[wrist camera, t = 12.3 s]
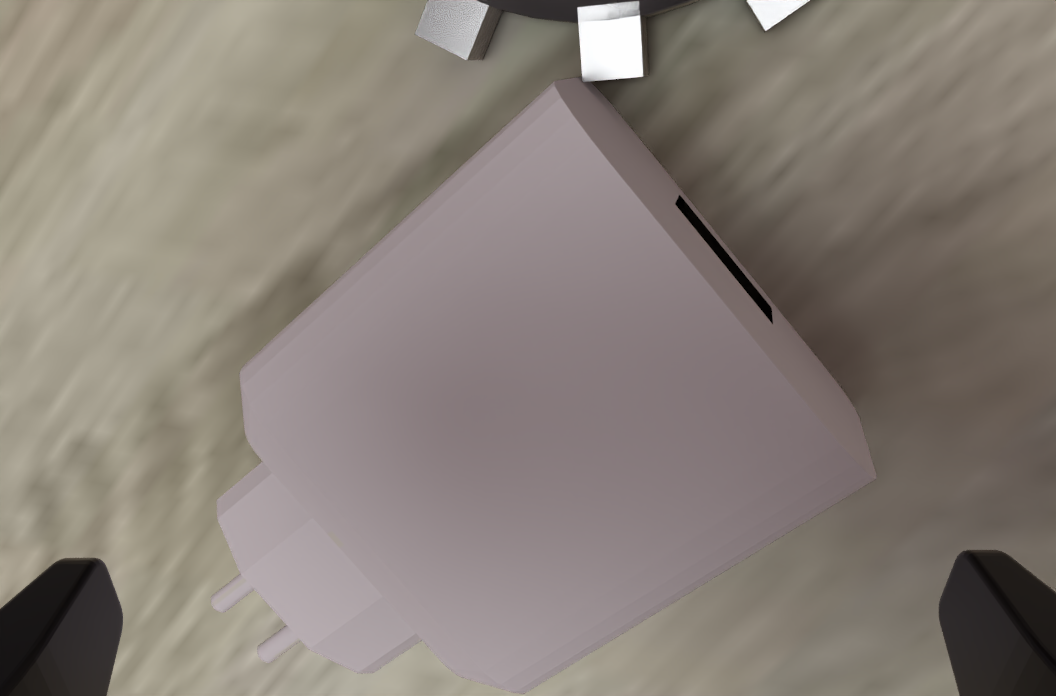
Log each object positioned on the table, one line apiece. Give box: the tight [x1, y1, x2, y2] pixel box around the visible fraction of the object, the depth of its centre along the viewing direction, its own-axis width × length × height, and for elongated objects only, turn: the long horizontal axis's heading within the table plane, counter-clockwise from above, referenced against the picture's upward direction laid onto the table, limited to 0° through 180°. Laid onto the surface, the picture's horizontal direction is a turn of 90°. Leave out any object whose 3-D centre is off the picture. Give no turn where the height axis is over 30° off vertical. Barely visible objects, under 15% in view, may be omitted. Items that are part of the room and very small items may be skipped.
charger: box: [211, 77, 877, 694], centre depth 21 cm, size 5×9×15 cm
